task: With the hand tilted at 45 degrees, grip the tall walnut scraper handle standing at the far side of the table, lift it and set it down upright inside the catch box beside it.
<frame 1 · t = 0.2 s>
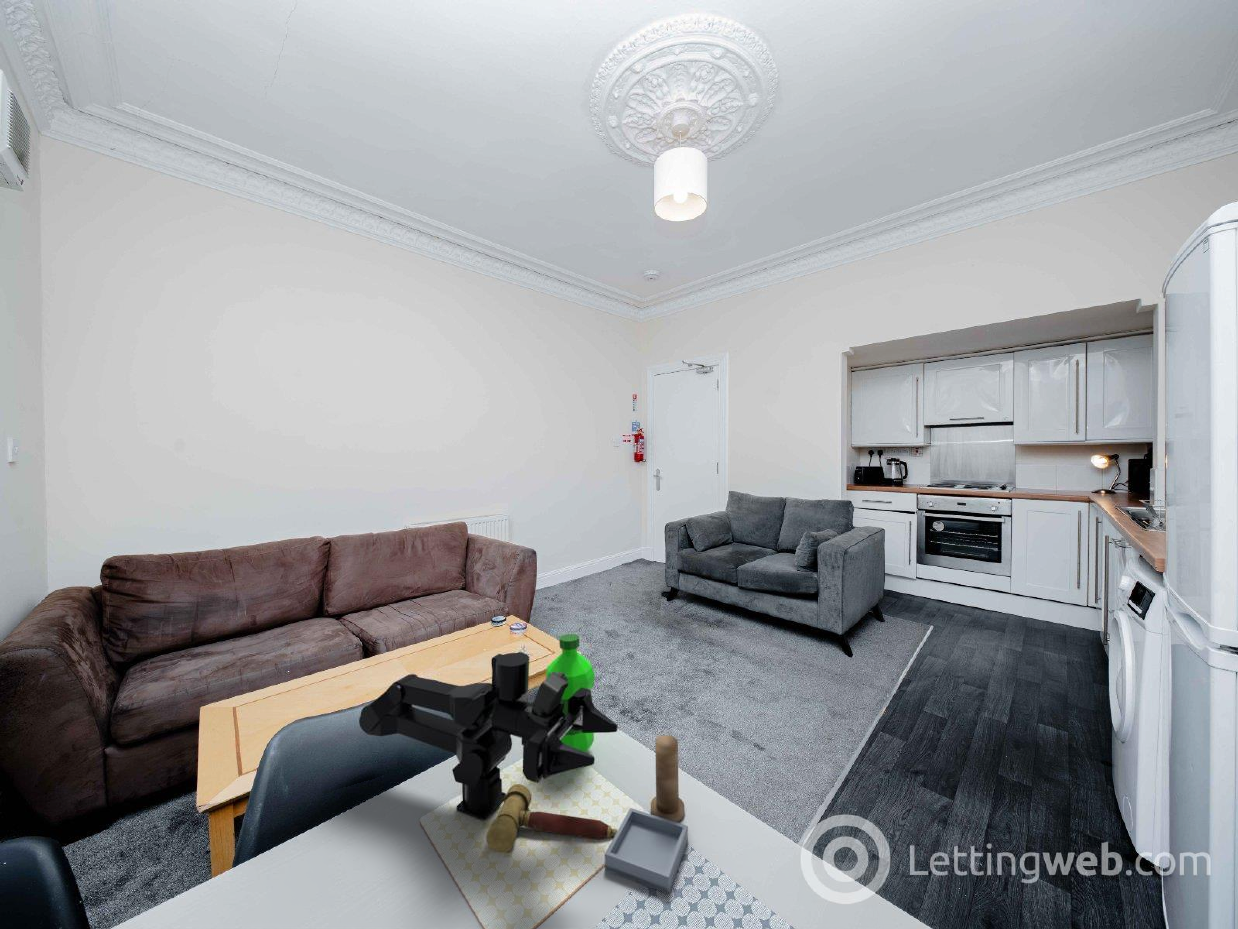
hand: (606, 743, 76), 17 cm above the table, tool horizontal, fingers open, 9 cm apart
catch box: (647, 855, 74), on the table
plastic bottle: (571, 754, 100), on the table
gavel: (556, 835, 79), on the table
walnut handle: (667, 811, 83), on the table
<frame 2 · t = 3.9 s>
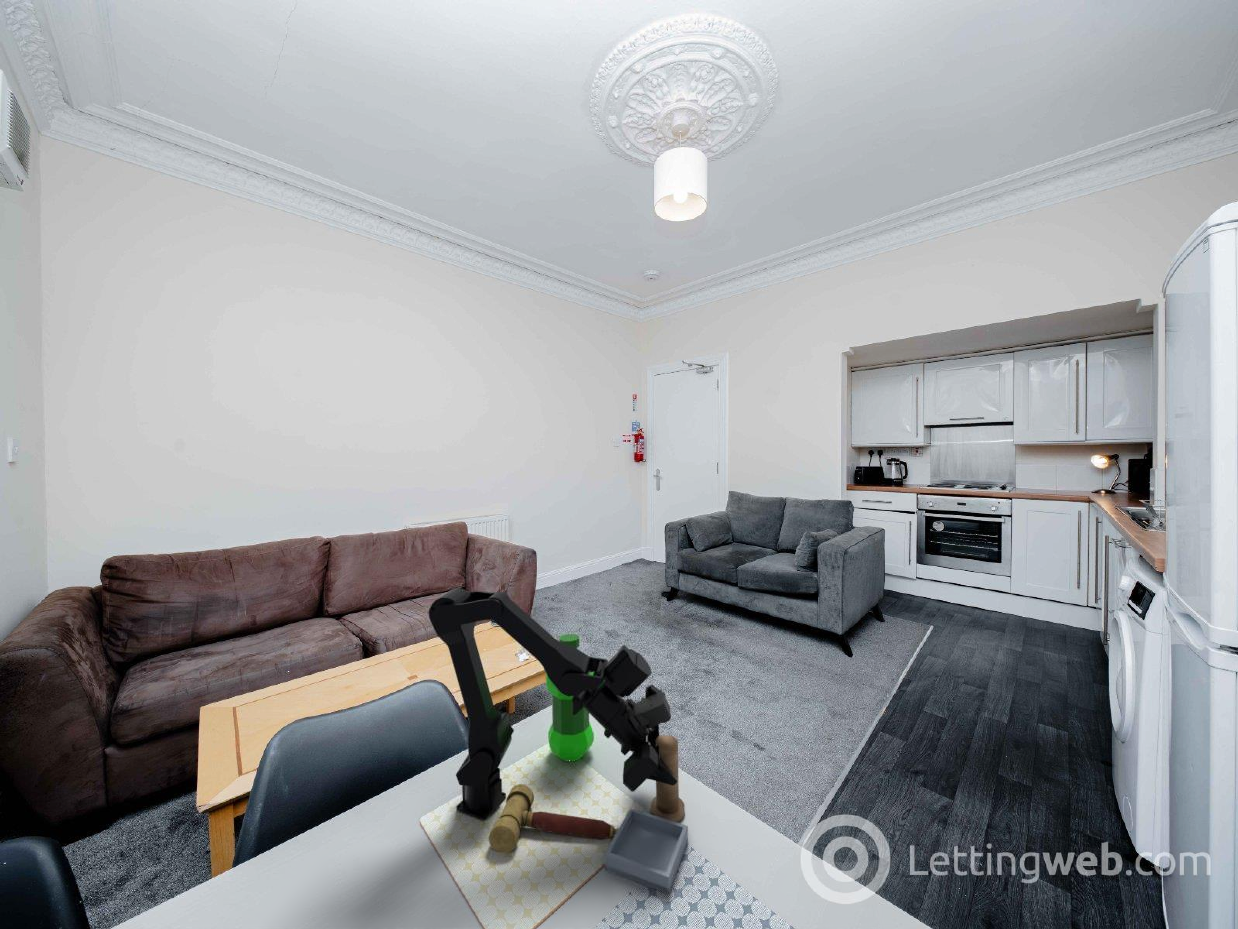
hand: (674, 774, 83), 7 cm above the table, tool tilted 45°, fingers closed on walnut handle, 4 cm apart
walnut handle: (667, 811, 83), on the table, touching gripper
everything else where it was.
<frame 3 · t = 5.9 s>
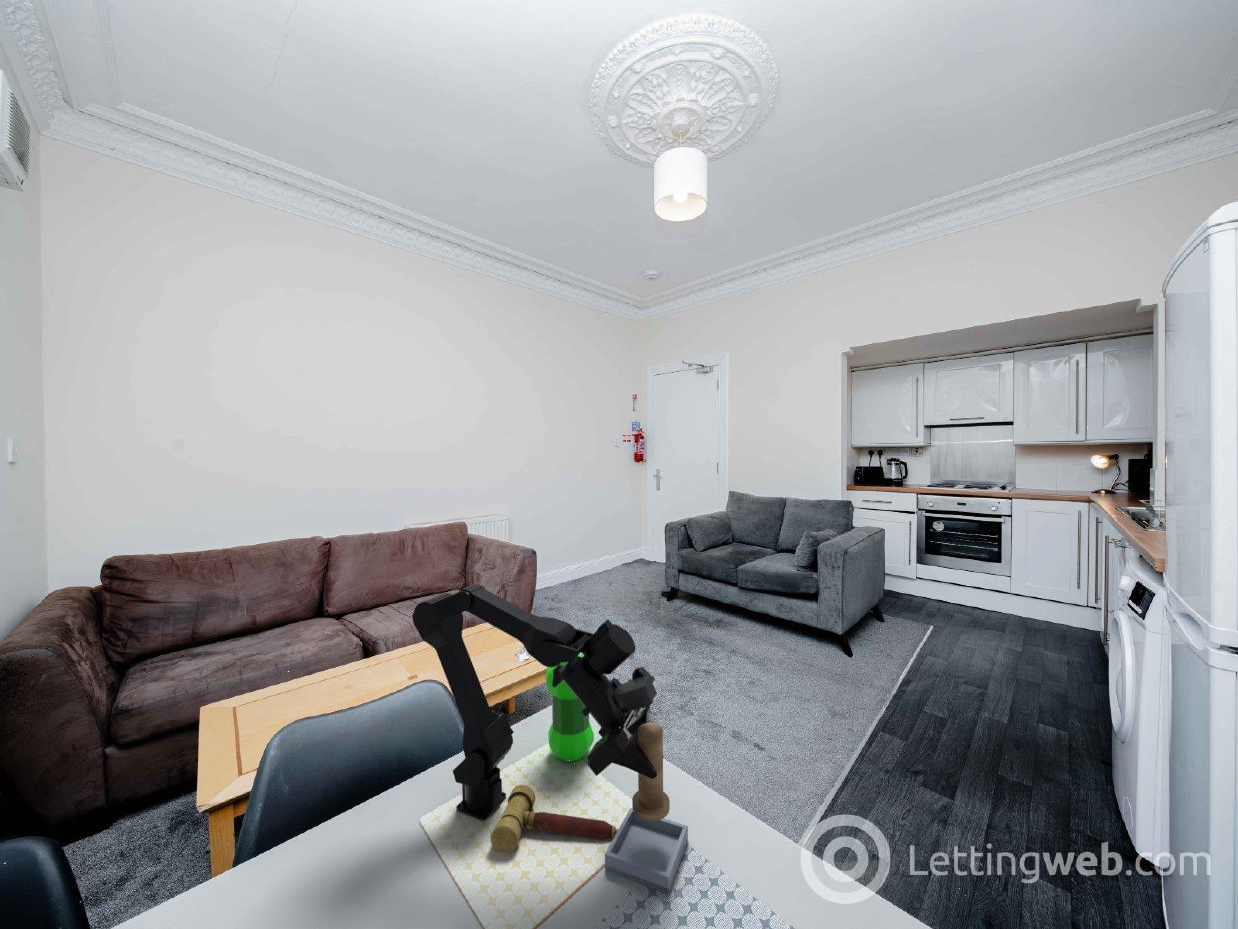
hand: (658, 768, 75), 13 cm above the table, tool tilted 45°, fingers closed on walnut handle, 4 cm apart
walnut handle: (650, 806, 75), point 7 cm above the table, touching gripper
everything else where it was.
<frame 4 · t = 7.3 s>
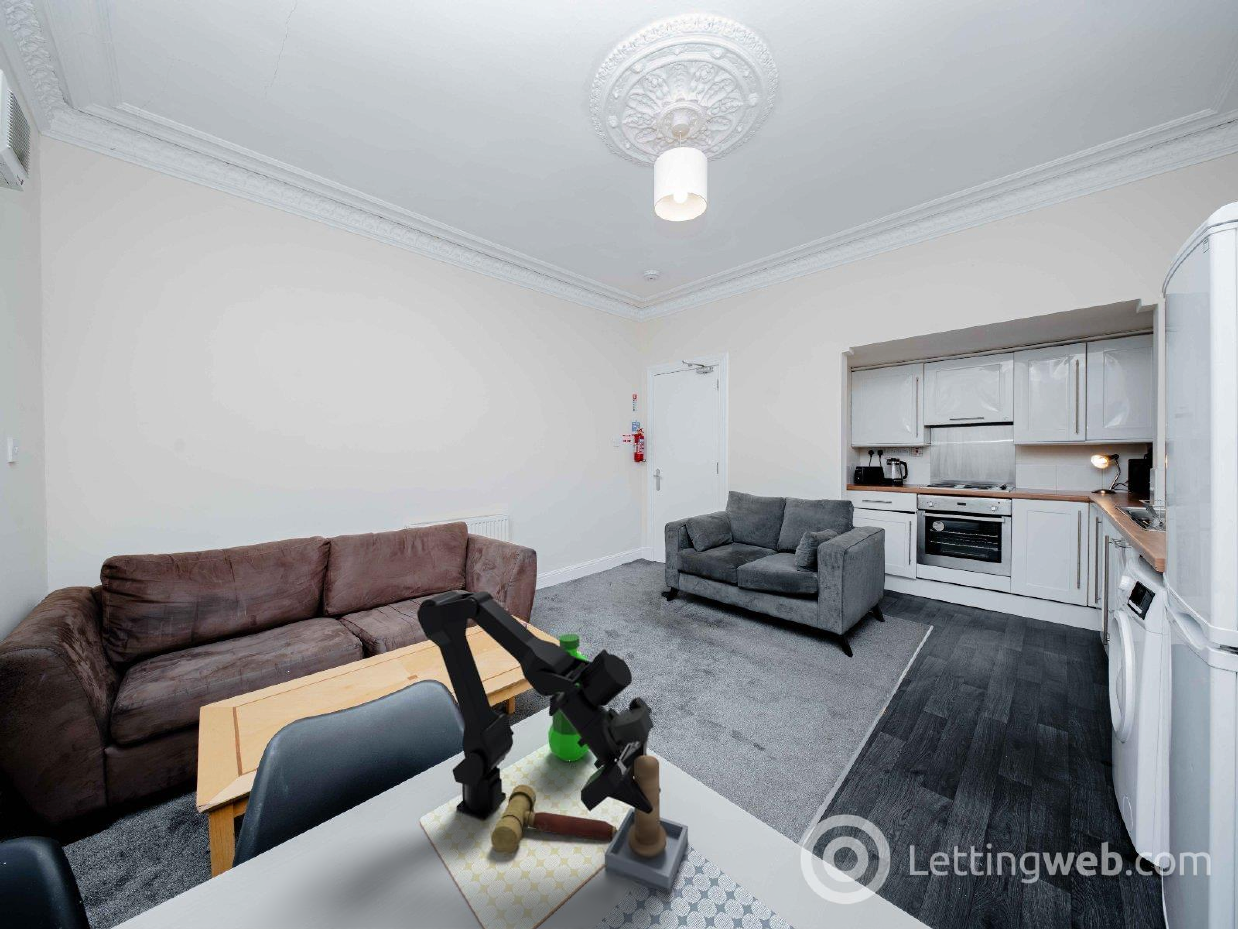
hand: (655, 802, 74), 9 cm above the table, tool tilted 45°, fingers closed on walnut handle, 4 cm apart
gavel: (561, 835, 79), on the table, touching catch box
walnut handle: (647, 841, 74), point 2 cm above the table, touching gripper
everything else where it was.
when the fingers open (9 cm above the table, at t = 7.5 s): walnut handle drops 1 cm, resting on catch box.
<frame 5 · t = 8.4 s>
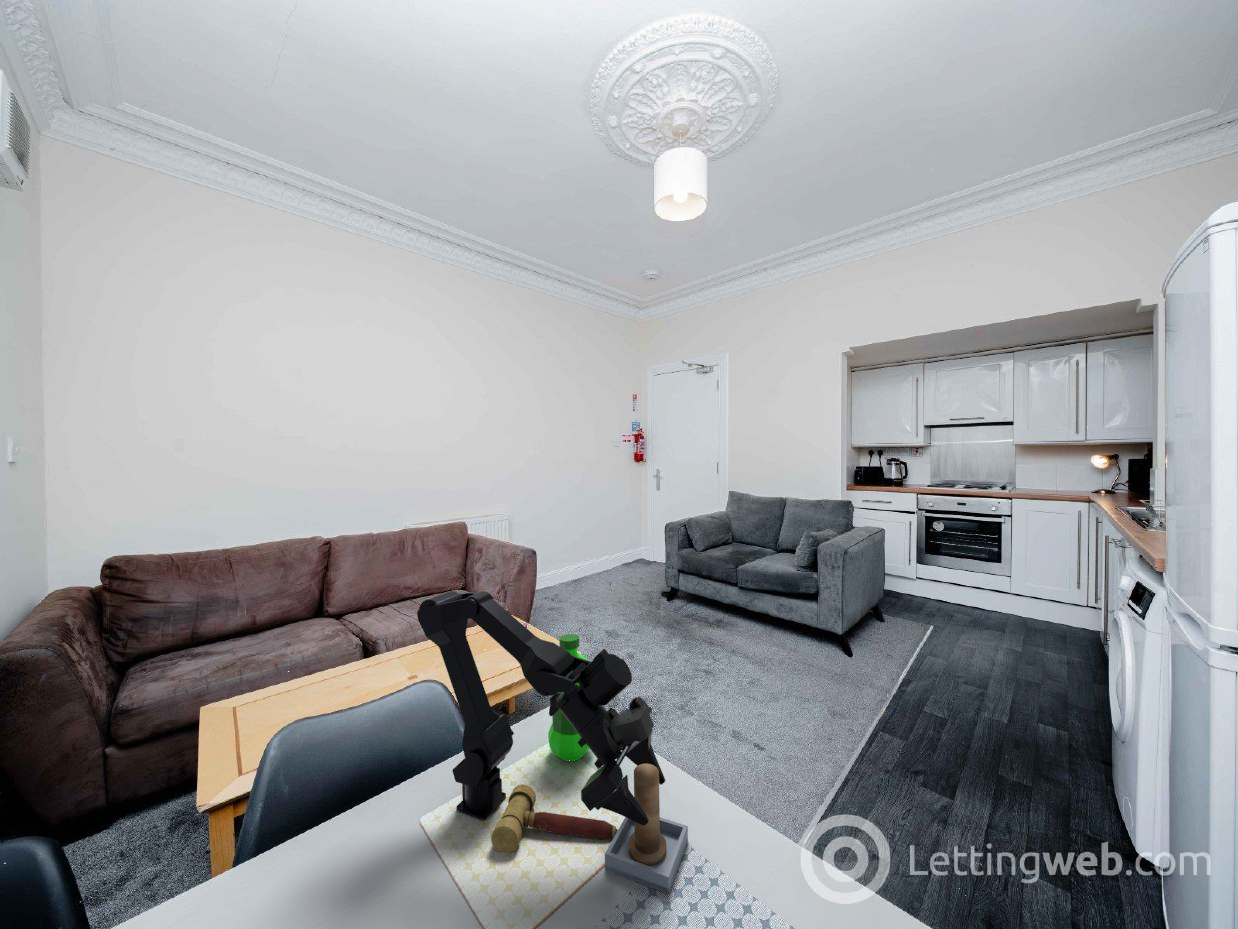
hand: (655, 802, 73), 9 cm above the table, tool tilted 45°, fingers open, 9 cm apart
gavel: (561, 835, 79), on the table
walnut handle: (647, 849, 74), point 1 cm above the table, touching catch box
everything else where it was.
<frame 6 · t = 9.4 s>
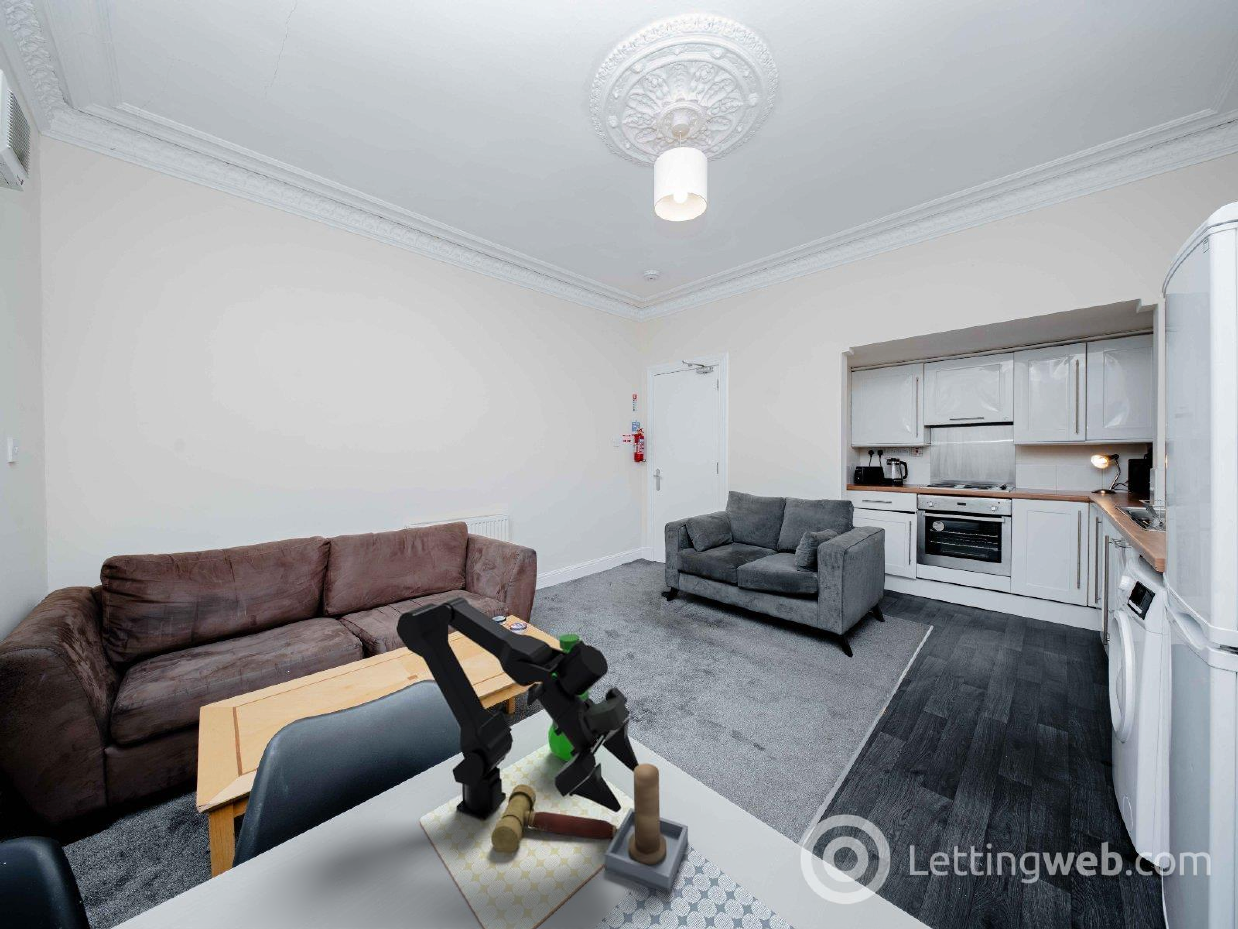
hand: (629, 790, 75), 10 cm above the table, tool tilted 45°, fingers open, 9 cm apart
nothing on the table moved.
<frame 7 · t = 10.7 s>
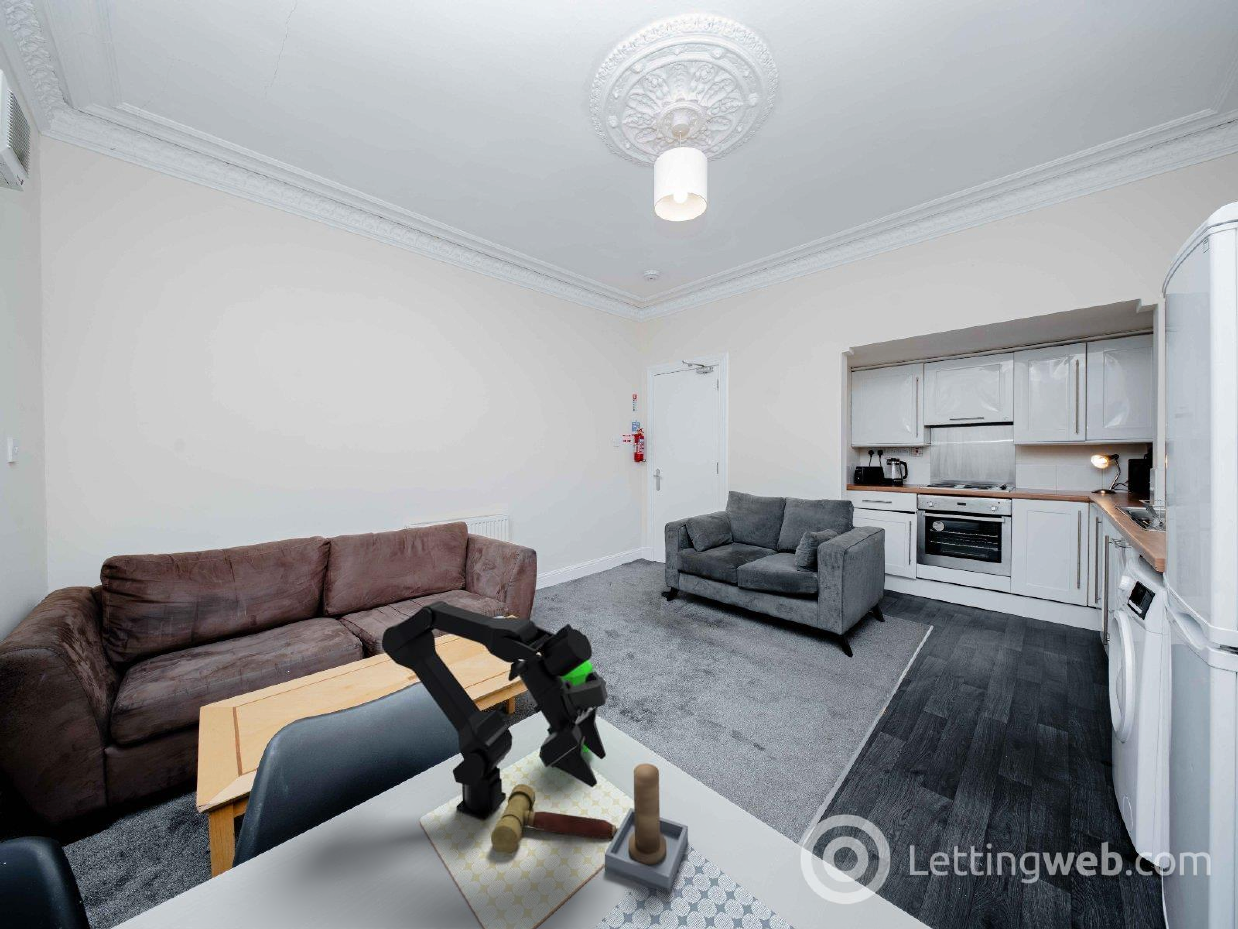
hand: (599, 770, 78), 11 cm above the table, tool tilted 35°, fingers open, 9 cm apart
nothing on the table moved.
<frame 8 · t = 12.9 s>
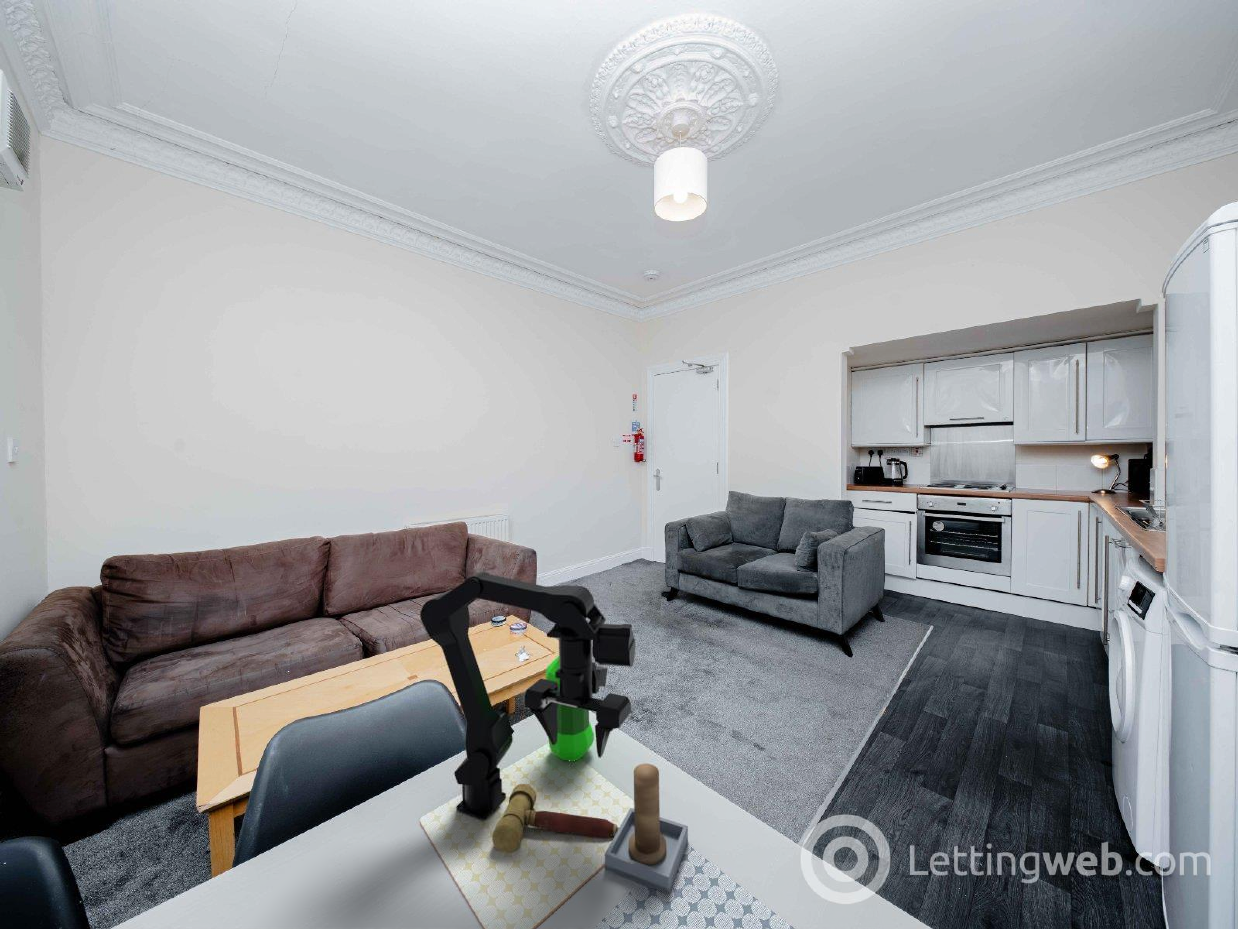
hand: (577, 749, 82), 12 cm above the table, tool pointing down, fingers open, 9 cm apart
nothing on the table moved.
at the end: walnut handle inside the target area on the catch box (0.1 cm from its centre), point 0.8 cm above the catch box's base; walnut handle tilted 0°; the gripper is holding nothing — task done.
